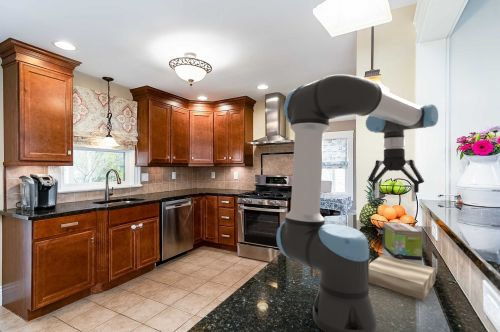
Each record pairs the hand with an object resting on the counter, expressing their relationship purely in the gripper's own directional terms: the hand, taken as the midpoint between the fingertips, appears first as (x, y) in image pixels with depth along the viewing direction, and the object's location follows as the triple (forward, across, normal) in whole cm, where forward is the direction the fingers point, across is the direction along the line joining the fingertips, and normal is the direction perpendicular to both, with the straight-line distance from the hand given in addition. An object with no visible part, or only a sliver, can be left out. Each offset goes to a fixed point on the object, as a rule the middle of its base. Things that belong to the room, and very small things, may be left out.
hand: (394, 199), depth 102 cm
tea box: (+26, -2, 0) cm, 26 cm away
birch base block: (+26, -6, +20) cm, 33 cm away
